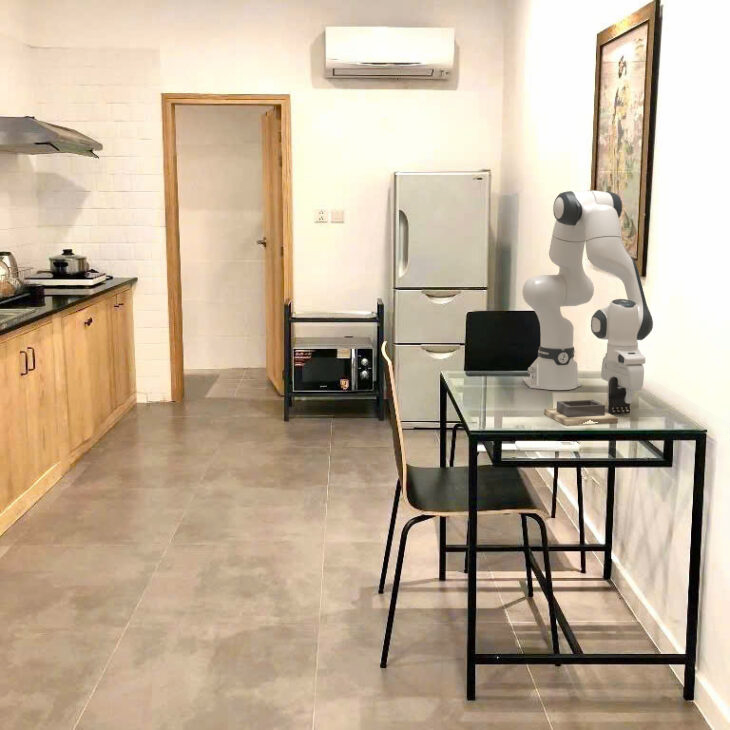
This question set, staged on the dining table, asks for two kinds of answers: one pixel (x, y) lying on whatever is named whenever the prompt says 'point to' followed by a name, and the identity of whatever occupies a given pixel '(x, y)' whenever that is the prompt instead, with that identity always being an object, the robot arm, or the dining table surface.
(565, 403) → the dock
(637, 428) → the dining table surface
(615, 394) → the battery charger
